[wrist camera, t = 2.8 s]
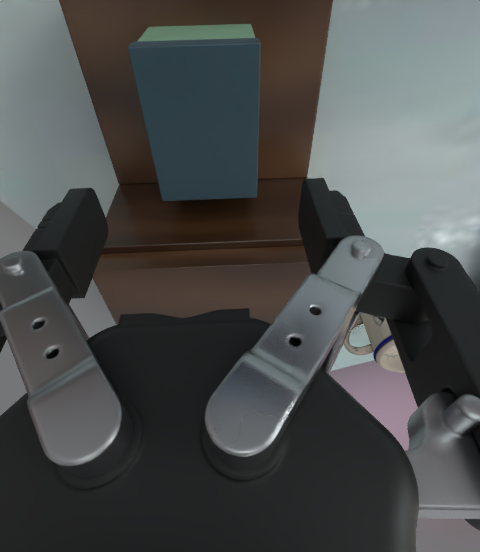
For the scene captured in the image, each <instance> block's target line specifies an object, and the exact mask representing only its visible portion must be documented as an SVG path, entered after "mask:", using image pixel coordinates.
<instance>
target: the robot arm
mask: <svg viewBox="0 0 480 552" xmlns="http://www.w3.org/2000/svg"><path fill="white" fill-rule="evenodd" d="M353 214H354V213H353V211H352V209H351V208H350V205H349V203H348V201H347V199H346V197H344V196H343V195H342V194H341V193H339V192H338V191H329V189H328V187H327V184H326V182H325V180H324V178H315V179H304V180H303V182H302V189H301V196H300V204H299V212H298V225H299V230H300V234H301V238H302V241H303V245H304V249H305V252H306V256H307V259H308V263H309V267H310V270H311V273H310V274H309V275H308V276H307V277H306V278H305V280H304V281H303V282H302V284H301V285H300V286H299V288H298V289H297V290H296V292H295V293H294V294H293V296H292V297H291V298H290V300H289V301H288V302H287V304H286V305H285V306H284V308H283V309H282V310H281V312H280V313H279V314H278V316H277V317H276V318H275V320H274V321H273V322H272V324H270V323H267V322H265V321H262V320H259V319H255V318H250V312H249V308H244V309H223V310H215V311H211V312H207V313H203V314H200V315H196V316H192V317H188V318H179V317H173V316H167V315H161V314H155V313H142V314H121V315H120V319H119V323H118V325H115V326H112V327H110V328H107V329H105V330H103V331H101V332H99V333H97V334H95V335H94V336H92V337H91V338H89V337H88V336H87V334H86V332H85V330H84V329H83V327H82V325H81V324H80V322H79V320H78V318H77V317H76V315H75V313H74V312H73V310H72V308H71V307H70V305H69V302H70V300H71V298H85V295H86V293H87V290H88V287H89V285H90V282H91V280H92V277H93V274H94V272H95V269H96V266H97V264H98V261H99V259H100V256H101V253H102V251H103V248H104V245H105V243H106V240H107V237H108V224H107V220H106V218H105V215H104V213H103V210H102V208H101V205H100V203H99V200H98V198H97V195H96V193H95V191H94V190H93V189H92V188H77V189H70V190H69V191H68V193H67V194H66V196H65V198H64V199H63V201H62V202H60V203H57V204H56V205H55V206H53V207H52V208H51V209H49V210H48V211H47V213H46V214H45V216H44V218H43V219H42V221H41V222H40V224H39V225H38V229H36V230H35V232H34V233H33V235H32V236H31V238H30V239H29V241H28V243H27V244H26V246H25V248H24V249H23V251H19V252H15V253H12V254H9V255H7V256H5V257H3V258H1V259H0V352H1V350H2V348H3V346H4V344H5V342H6V339H7V340H8V342H9V345H10V348H11V350H12V353H13V356H14V358H15V361H16V364H17V367H18V369H19V372H20V374H21V377H22V380H23V382H24V385H25V388H26V390H27V393H26V394H25V395H24V396H23V397H21V398H20V399H19V400H18V401H17V402H16V403H15V404H14V405H12V406H11V407H10V408H9V409H8V410H7V411H6V412H4V413H3V414H2V415H1V416H0V552H416V527H417V519H418V518H451V519H465V520H466V521H467V522H468V523H469V524H470V525H472V526H473V527H475V528H476V529H478V530H480V293H479V291H478V290H477V288H476V287H475V285H474V284H473V282H472V281H471V279H470V278H469V276H468V275H467V273H466V272H465V270H464V268H463V267H462V265H461V264H460V262H459V261H458V260H457V259H456V258H455V257H454V256H452V255H451V254H449V253H447V252H445V251H443V250H440V249H436V248H421V249H418V250H416V251H415V252H414V253H413V254H412V256H411V258H405V257H399V256H393V255H389V254H385V253H384V252H383V249H382V247H381V246H380V245H379V244H378V243H377V242H376V241H374V240H372V239H370V238H367V237H365V236H364V234H363V231H362V229H361V227H360V225H359V223H358V221H357V219H356V217H355V215H353ZM360 312H361V313H366V314H371V315H375V316H380V317H384V318H386V321H387V324H388V326H389V329H390V332H391V335H392V337H393V340H394V343H395V346H396V348H397V351H398V354H399V357H400V359H401V362H402V365H403V368H404V370H405V373H406V376H407V379H408V381H409V384H410V387H411V390H412V392H413V395H414V398H415V401H416V403H417V406H418V409H417V410H416V411H415V412H414V413H413V414H412V415H411V416H410V418H409V421H408V433H409V439H410V440H409V443H410V444H409V449H408V451H404V449H403V448H402V446H401V445H400V443H399V442H398V441H397V440H396V438H395V437H394V436H393V435H392V434H391V433H390V432H389V431H388V430H387V429H386V428H385V427H384V426H383V425H382V424H381V423H380V422H379V421H378V420H377V419H376V418H375V417H374V416H372V415H371V414H370V413H369V412H368V411H367V410H366V409H365V408H364V407H363V406H362V405H361V404H360V403H359V402H357V401H356V400H355V399H354V398H353V397H352V396H351V395H350V394H349V393H348V392H347V391H346V390H345V389H344V388H342V386H341V385H339V384H338V383H337V382H336V381H335V380H334V379H333V378H332V377H331V376H330V375H329V372H330V370H331V368H332V366H333V364H334V362H335V360H336V358H337V356H338V354H339V351H340V349H341V347H342V346H343V344H344V342H345V340H346V338H347V336H348V335H349V333H350V331H351V329H352V327H353V325H354V323H355V322H356V320H357V318H358V316H359V314H360Z"/></svg>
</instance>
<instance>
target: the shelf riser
mask: <svg viewBox="0 0 480 552" xmlns="http://www.w3.org/2000/svg"><path fill="white" fill-rule="evenodd" d="M59 2H60V5H61V8H62V11H63V14H64V17H65V20H66V23H67V26H68V29H69V32H70V35H71V38H72V41H73V45H74V48H75V51H76V54H77V57H78V60H79V63H80V66H81V69H82V72H83V75H84V78H85V81H86V84H87V87H88V91H89V94H90V97H91V100H92V103H93V106H94V109H95V112H96V115H97V118H98V121H99V124H100V127H101V130H102V133H103V137H104V140H105V143H106V146H107V149H108V152H109V155H110V158H111V161H112V164H113V167H114V170H115V173H116V176H117V179H118V183H119V187H118V189H117V192H116V194H115V196H114V199H113V201H112V204H111V206H110V209H109V211H108V214H107V216H106V220H107V224H108V237H107V240H106V243H105V245H104V248H103V251H102V253H101V256H100V259H99V261H98V264H97V266H96V269H95V272H94V274H93V277H92V278H93V280H94V282H95V284H96V286H97V288H98V290H99V291H100V293H101V295H102V297H103V299H104V301H105V303H106V305H107V307H108V309H109V311H110V313H111V315H112V317H113V319H114V321H115V322H116V324H117V325H118V323H119V319H120V315H121V314H142V313H155V314H161V315H167V316H173V317H179V318H188V317H192V316H196V315H200V314H203V313H207V312H211V311H215V310H223V309H244V308H249V312H250V318H255V319H259V320H262V321H265V322H267V323H270V324H272V322H273V321H274V320H275V318H276V317H277V316H278V314H279V313H280V312H281V310H282V309H283V308H284V306H285V305H286V304H287V302H288V301H289V300H290V298H291V297H292V296H293V294H294V293H295V292H296V290H297V289H298V288H299V286H300V285H301V284H302V282H303V281H304V280H305V278H306V277H307V276H308V275H309V274H310V273H311V270H310V267H309V263H308V259H307V256H306V252H305V249H304V245H303V241H302V238H301V234H300V230H299V225H298V212H299V204H300V196H301V189H302V182H303V180H304V179H307V174H308V167H309V160H310V153H311V146H312V140H313V133H314V126H315V119H316V112H317V105H318V99H319V92H320V85H321V78H322V71H323V64H324V58H325V51H326V44H327V37H328V30H329V23H330V17H331V10H332V3H333V0H59ZM227 24H251V26H252V29H253V32H254V35H255V38H259V41H260V43H261V56H260V98H259V140H258V183H257V197H256V198H233V199H207V200H180V201H162V198H161V193H160V189H159V184H158V180H157V175H156V171H155V167H154V162H153V158H152V153H151V149H150V145H149V140H148V136H147V131H146V127H145V123H144V118H143V114H142V109H141V105H140V100H139V96H138V92H137V87H136V83H135V78H134V74H133V70H132V65H131V61H130V56H129V52H128V46H129V45H130V44H131V43H132V42H137V41H138V40H139V38H140V37H141V36H142V35H143V33H144V32H145V31H146V30H147V28H148V27H162V26H194V25H227Z"/></svg>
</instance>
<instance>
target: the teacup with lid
mask: <svg viewBox="0 0 480 552" xmlns="http://www.w3.org/2000/svg"><path fill="white" fill-rule="evenodd" d="M362 323H364V326H365V329H366V331H367V334H368V337H369V340H370V342H371V344H370V345H366V346H363V347H353V346H351V345H350V343H349V335H350V333H349V335H348V336H347V338H346V340H345V342H344V346H345V348H346V349H347V350H348V351H349V352H350V353H352V354H355V355H365V354H369V353H372V352H374V359H375V361H376V362H377V363H378V365H379V366H381V367H382V368H384V369H385V370H388V371H392V372H405V370H404V368H403V365H402V362H401V359H400V357H399V354H398V351H397V348H396V346H395V343H394V340H393V337H392V335H391V332H390V329H389V326H388V324H387V321H386V318H384V317H380V316H375V315H371V314H366V313H361V312H360V316H358V318H357V320H356V322H355V323H354V325H353V327H352V329H353V328H354V327H356V326H357V325H359V324H362ZM352 329H351V330H352ZM350 332H351V331H350Z"/></svg>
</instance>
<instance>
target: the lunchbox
mask: <svg viewBox="0 0 480 552" xmlns="http://www.w3.org/2000/svg"><path fill="white" fill-rule="evenodd" d="M128 52H129V56H130V61H131V65H132V70H133V74H134V78H135V83H136V87H137V92H138V96H139V100H140V105H141V109H142V114H143V118H144V123H145V127H146V131H147V136H148V140H149V145H150V149H151V153H152V158H153V162H154V167H155V171H156V175H157V180H158V184H159V189H160V193H161V198H162V201H180V200H207V199H233V198H256V197H257V183H258V140H259V98H260V56H261V43H260V41H259V38H255V35H254V32H253V29H252V26H251V24H227V25H194V26H162V27H148V28H147V30H146V31H145V32H144V33H143V35H142V36H141V37H140V38H139V40H138V41H137V42H132V43H131V44H130V45H129V46H128Z"/></svg>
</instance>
